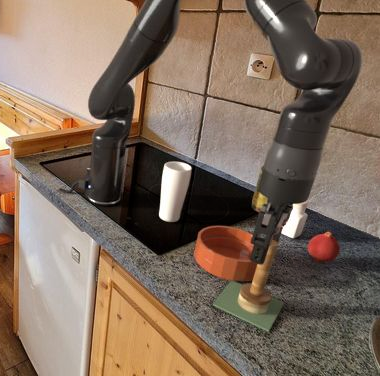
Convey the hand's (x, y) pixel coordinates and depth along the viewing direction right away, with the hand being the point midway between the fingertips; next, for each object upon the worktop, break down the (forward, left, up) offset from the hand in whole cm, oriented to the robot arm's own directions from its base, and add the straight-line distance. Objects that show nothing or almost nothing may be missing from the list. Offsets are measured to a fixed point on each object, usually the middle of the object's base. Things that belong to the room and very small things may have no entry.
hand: (263, 252), depth 73 cm
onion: (+7, +26, -12) cm, 30 cm away
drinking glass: (-27, +21, -12) cm, 36 cm away
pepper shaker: (-1, +35, -12) cm, 37 cm away
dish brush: (+1, 0, -12) cm, 12 cm away
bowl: (-8, +11, -12) cm, 18 cm away
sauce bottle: (-10, +44, -12) cm, 47 cm away
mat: (0, 0, -12) cm, 12 cm away
